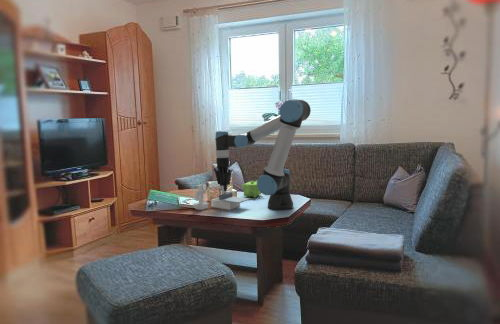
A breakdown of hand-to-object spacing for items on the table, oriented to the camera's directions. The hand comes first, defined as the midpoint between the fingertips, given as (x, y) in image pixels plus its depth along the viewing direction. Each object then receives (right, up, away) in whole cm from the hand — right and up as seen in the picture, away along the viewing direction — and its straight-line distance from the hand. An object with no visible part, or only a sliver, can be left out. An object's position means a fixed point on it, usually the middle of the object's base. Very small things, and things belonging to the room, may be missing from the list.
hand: (224, 196), depth 219 cm
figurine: (-13, -8, -4) cm, 16 cm away
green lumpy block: (+17, -3, +30) cm, 35 cm away
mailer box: (+1, -7, 0) cm, 7 cm away
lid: (+7, -2, -4) cm, 8 cm away
